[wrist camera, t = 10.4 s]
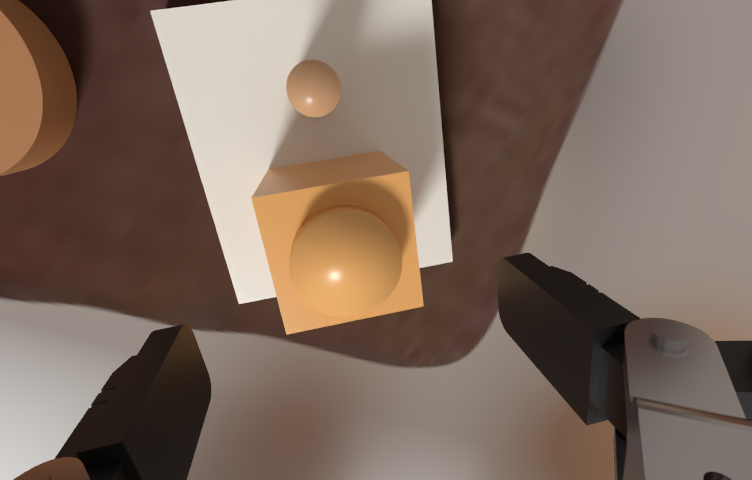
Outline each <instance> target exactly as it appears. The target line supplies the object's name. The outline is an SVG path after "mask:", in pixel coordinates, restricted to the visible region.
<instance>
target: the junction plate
mask: <svg viewBox="0 0 752 480" xmlns="http://www.w3.org/2000/svg"><path fill="white" fill-rule="evenodd" d="M150 12H151V15H152V19H153V22H154V25H155V28H156V32H157V35H158V38H159V42H160V45H161V48H162V52H163V55H164V58H165V61H166V65H167V68H168V71H169V75H170V78H171V81H172V84H173V88H174V91H175V94H176V98H177V101H178V104H179V108H180V111H181V114H182V117H183V121H184V124H185V127H186V131H187V134H188V137H189V141H190V144H191V147H192V150H193V154H194V157H195V160H196V164H197V167H198V170H199V174H200V177H201V180H202V183H203V187H204V190H205V193H206V197H207V200H208V203H209V207H210V210H211V213H212V216H213V220H214V223H215V226H216V230H217V233H218V236H219V240H220V243H221V246H222V249H223V253H224V256H225V259H226V263H227V266H228V269H229V273H230V276H231V279H232V282H233V286H234V289H235V292H236V296H237V299H238V302H239V304H242V303H247V302H252V301H257V300H262V299H267V298H272V297H277V296H276V292H275V288H274V284H273V280H272V276H271V272H270V269H269V265H268V261H267V257H266V253H265V249H264V245H263V241H262V238H261V234H260V230H259V226H258V222H257V218H256V214H255V210H254V207H253V203H252V199H251V198H252V196H253V194H254V192H255V191H256V189H257V187H258V186H259V184H260V182H261V181H262V179H263V177H264V176H265V174H266V172H267V171H268V169H273V168H279V167H285V166H291V165H297V164H303V163H309V162H316V161H322V160H328V159H334V158H340V157H346V156H352V155H358V154H364V153H370V152H376V151H382V152H383V153H385V154H386V155H387V156H389V157H390V158H392V159H393V160H394V161H396V162H397V163H398V164H400V165H401V166H402V167H404V168H405V169H407V170H408V171H409V178H410V187H411V196H412V205H413V215H414V224H415V233H416V242H417V251H418V260H419V268H422V267H427V266H432V265H438V264H443V263H448V262H453V259H452V247H451V234H450V222H449V210H448V197H447V185H446V173H445V160H444V148H443V135H442V123H441V111H440V98H439V86H438V74H437V61H436V49H435V37H434V24H433V12H432V0H232V1H224V2H216V3H208V4H200V5H192V6H184V7H176V8H168V9H160V10H153V11H150Z"/></svg>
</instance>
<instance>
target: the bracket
mask: <svg viewBox="0 0 752 480" xmlns="http://www.w3.org/2000/svg"><path fill="white" fill-rule="evenodd" d="M76 113H77V91H76V84H75V80H74V76H73V72H72V70H71V67H70V64H69V62H68V60H67V58H66V55H65V53H64V51H63V50H62V48H61V46H60V45H59V43H58V41H57V40H56V38H55V37H54V36H53V34H52V33H51V31H50V30H49V29H48V28H47V27H46V25H45V24H44V23H43V22H42V21H41V20H40V19H39V18H38V17H37V16H36V15H35V14H34V13H33V12H32V11H31V10H30V9H29V8H27V7H26V6H25V5H24V4H23V3H21V2H20V1H19V0H0V176H3V175H7V174H11V173H15V172H19V171H23V170H26V169H29V168H32V167H35V166H37V165H39V164H41V163H43V162H45V161H46V160H48V159H49V158H51V157H52V156H53V155H54V154H55V153H57V151H58V150H59V149H60V148H61V147H62V146H63V145H64V143H65V142H66V140H67V139H68V137H69V135H70V133H71V131H72V128H73V125H74V122H75V118H76Z"/></svg>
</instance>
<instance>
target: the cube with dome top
mask: <svg viewBox="0 0 752 480" xmlns="http://www.w3.org/2000/svg"><path fill="white" fill-rule="evenodd" d="M251 199H252V203H253V207H254V210H255V214H256V218H257V222H258V226H259V230H260V234H261V238H262V241H263V245H264V249H265V253H266V257H267V261H268V265H269V269H270V272H271V276H272V280H273V284H274V288H275V292H276V296H277V300H278V303H279V307H280V311H281V315H282V319H283V323H284V327H285V331H286V334H292V333H296V332H301V331H306V330H311V329H316V328H321V327H325V326H330V325H335V324H340V323H345V322H350V321H355V320H359V319H364V318H369V317H374V316H379V315H384V314H389V313H393V312H398V311H403V310H408V309H413V308H418V307H423V306H424V305H423V296H422V287H421V278H420V269H419V260H418V251H417V242H416V233H415V224H414V215H413V205H412V196H411V187H410V178H409V171H408V170H407V169H405V168H404V167H402V166H401V165H400V164H398V163H397V162H396V161H394V160H393V159H392V158H390V157H389V156H387V155H386V154H385V153H383V152H382V151H376V152H370V153H364V154H358V155H352V156H346V157H340V158H334V159H328V160H322V161H316V162H309V163H303V164H297V165H291V166H285V167H279V168H273V169H268V171H267V172H266V174H265V176H264V177H263V179H262V181H261V182H260V184H259V186H258V187H257V189H256V191H255V192H254V194H253V196H252V198H251Z"/></svg>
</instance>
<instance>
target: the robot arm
mask: <svg viewBox="0 0 752 480" xmlns="http://www.w3.org/2000/svg"><path fill="white" fill-rule="evenodd" d="M497 272H498V304H499V315H500V319H501V322H502V324H503V327H504V329H505V330H506V332H507V333H508V334H509V335H510V337H511V338H512V339H513V340H514V341H515V342H516V344H517V345H518V346H519V347H520V348H521V349H522V351H523V352H524V353H525V354H526V355H527V356H528V358H529V359H530V360H531V361H532V362H533V363H534V364H535V366H536V367H537V368H538V369H539V370H540V371H541V373H542V374H543V375H544V376H545V377H546V379H547V380H548V381H549V382H550V383H551V384H552V386H553V387H554V388H555V389H556V390H557V391H558V393H559V394H560V395H561V396H562V397H563V398H564V400H565V401H566V402H567V403H568V404H569V405H570V407H571V408H572V409H573V410H574V411H575V412H576V413H577V415H578V416H579V417H580V418H581V419H582V421H583V422H584V423H585V424H586V425H590V424H594V423H597V422H601V421H605V420H609V421H610V422H611V423H612V425H613V426H614V435H613V451H614V480H752V341H714V340H713V339H712V338H711V337H710V336H709V335H707V334H706V333H705V332H703V331H701V330H700V329H698V328H696V327H694V326H691V325H688V324H685V323H683V322H679V321H675V320H670V319H664V318H643V319H640V318H639V317H637V316H636V315H634V314H633V313H631V312H630V311H628V310H627V309H625V308H624V307H622V306H621V305H619V304H618V303H616V302H615V301H613V300H612V299H610V298H609V297H607V296H606V295H604V294H603V293H599V292H598V290H597V289H595V288H594V287H592V286H591V285H587V284H586V282H585V281H583V280H582V279H580V278H579V277H577V276H576V275H574V274H573V273H571V272H568V271H565V270H562V269H559V268H556V267H553V266H550V267H549V266H548V265H546V264H545V263H543V262H542V261H540V260H539V259H538V258H536V257H535V256H533V255H532V254H530V253H524V254H519V255H514V256H509V257H505V258H501V259H500V260H499V261H498V266H497ZM101 391H102V392H101V393H99V394H98V395H97V397H96V398H95V400H94V401H93V403H92V407H91V408H89V409H88V410H87V412H86V413H85V415H84V417H83V418H82V419H81V421H80V422H79V423H78V425H77V426H76V428H75V429H74V431H73V432H72V434H71V435H70V437H69V438H68V440H67V441H66V443H65V444H64V446H63V447H62V449H61V450H60V452H59V453H58V455H57V456H56V458H55V459H53V460H50V461H47V462H45V463H42V464H40V465H38V466H36V467H34V468H32V469H30V470H28V471H26V472H25V473H23V474H21V475H20V476H18V477H17V478H15V479H14V480H187V477H188V473H189V470H190V467H191V463H192V460H193V457H194V453H195V450H196V447H197V443H198V440H199V437H200V433H201V430H202V427H203V423H204V420H205V416H206V413H207V410H208V406H209V403H210V399H211V382H210V377H209V374H208V371H207V368H206V366H205V363H204V360H203V358H202V355H201V352H200V350H199V347H198V344H197V341H196V339H195V336H194V333H193V331H192V329H191V328H190V326H189V325H187V324H184V325H179V326H174V327H169V328H165V329H160V330H155V331H153V332H152V333H151V334H150V335H149V337H148V339H147V340H146V342H145V343H144V345H143V347H142V348H141V350H140V352H139V353H138V355H136V356H132V357H131V358H129V359H128V360H127V361H126V362H125V363H124V364H122V365H121V366H120V367H119V368H118V369H117V370H116V371H114V372H113V373H112V375H111V376H110V378H109V379H108V381H107V382H106V384H105V385H104V387H103V388H102V390H101Z"/></svg>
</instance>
